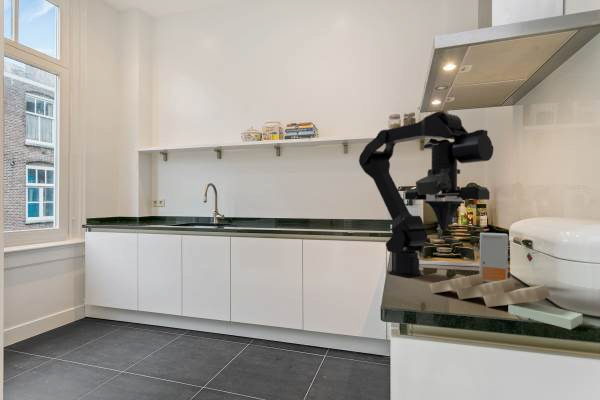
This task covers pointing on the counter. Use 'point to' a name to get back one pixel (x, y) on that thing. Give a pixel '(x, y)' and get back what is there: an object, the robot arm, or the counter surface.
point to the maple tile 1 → (457, 283)
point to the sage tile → (546, 314)
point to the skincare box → (493, 256)
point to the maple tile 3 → (518, 296)
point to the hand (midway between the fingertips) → (443, 230)
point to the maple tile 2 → (487, 289)
